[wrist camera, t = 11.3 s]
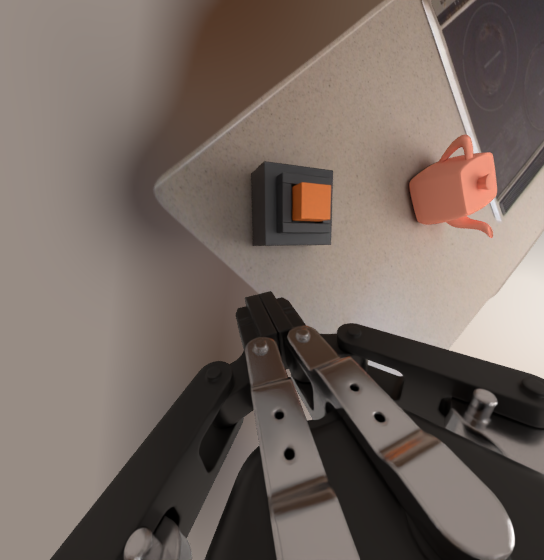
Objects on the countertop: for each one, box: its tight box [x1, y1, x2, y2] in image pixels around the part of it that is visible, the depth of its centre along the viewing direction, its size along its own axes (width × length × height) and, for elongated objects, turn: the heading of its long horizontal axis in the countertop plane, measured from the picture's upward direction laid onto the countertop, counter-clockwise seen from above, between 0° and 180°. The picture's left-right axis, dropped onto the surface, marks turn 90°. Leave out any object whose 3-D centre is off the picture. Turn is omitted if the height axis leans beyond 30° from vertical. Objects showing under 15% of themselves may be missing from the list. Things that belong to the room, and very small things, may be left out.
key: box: [292, 182, 331, 222], centre depth 28 cm, size 4×4×2 cm
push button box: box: [251, 161, 333, 246], centre depth 32 cm, size 10×10×7 cm
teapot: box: [409, 135, 497, 238], centre depth 42 cm, size 12×18×10 cm, turn 26°
